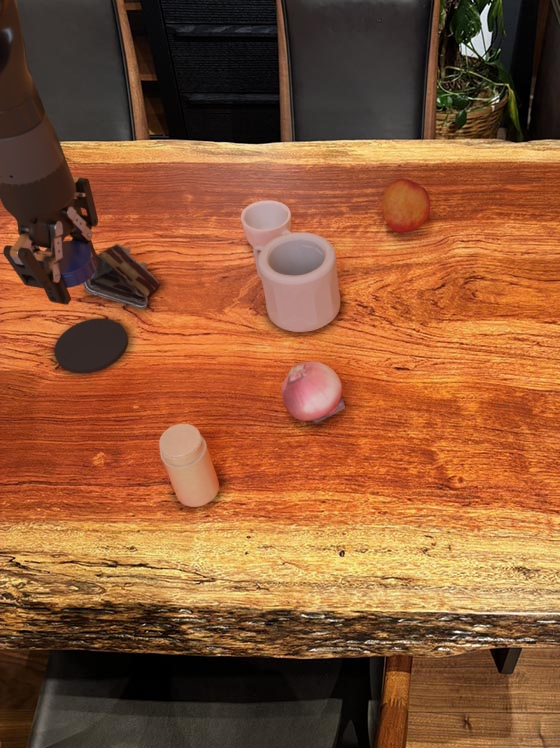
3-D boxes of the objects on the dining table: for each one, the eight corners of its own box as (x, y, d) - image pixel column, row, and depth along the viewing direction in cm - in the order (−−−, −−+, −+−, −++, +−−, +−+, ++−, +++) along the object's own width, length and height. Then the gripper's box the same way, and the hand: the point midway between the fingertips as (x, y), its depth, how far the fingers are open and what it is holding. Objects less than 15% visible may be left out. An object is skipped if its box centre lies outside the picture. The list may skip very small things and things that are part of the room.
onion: (301, 379, 108) (295, 342, 102) (355, 393, 106) (351, 356, 100) (275, 423, 103) (267, 386, 97) (330, 439, 101) (326, 403, 95)
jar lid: (102, 253, 94) (97, 239, 92) (89, 288, 90) (84, 274, 88) (52, 254, 94) (46, 240, 93) (37, 288, 90) (31, 274, 89)
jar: (175, 510, 95) (155, 461, 87) (176, 474, 98) (156, 424, 91) (219, 503, 95) (203, 454, 88) (218, 467, 99) (202, 418, 91)
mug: (355, 299, 118) (351, 246, 110) (311, 344, 112) (303, 291, 104) (283, 267, 123) (274, 214, 115) (237, 309, 117) (225, 256, 110)
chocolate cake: (179, 284, 122) (129, 218, 120) (151, 303, 116) (98, 234, 114) (145, 310, 128) (97, 248, 125) (116, 330, 122) (65, 265, 120)
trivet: (50, 377, 110) (48, 373, 109) (62, 325, 116) (60, 321, 116) (123, 370, 110) (122, 366, 109) (131, 319, 117) (130, 315, 116)
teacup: (235, 245, 127) (229, 217, 123) (270, 221, 131) (265, 193, 127) (280, 271, 122) (275, 243, 118) (315, 245, 126) (311, 217, 122)
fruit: (441, 224, 129) (442, 182, 123) (407, 248, 125) (407, 206, 119) (404, 204, 132) (404, 162, 126) (371, 227, 129) (368, 186, 123)
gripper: (19, 207, 76) (74, 331, 88) (92, 125, 85) (133, 248, 97) (-50, 196, 77) (14, 320, 90) (29, 116, 86) (77, 239, 99)
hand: (76, 282), depth 94 cm, fingers closed on jar lid, 6 cm apart
